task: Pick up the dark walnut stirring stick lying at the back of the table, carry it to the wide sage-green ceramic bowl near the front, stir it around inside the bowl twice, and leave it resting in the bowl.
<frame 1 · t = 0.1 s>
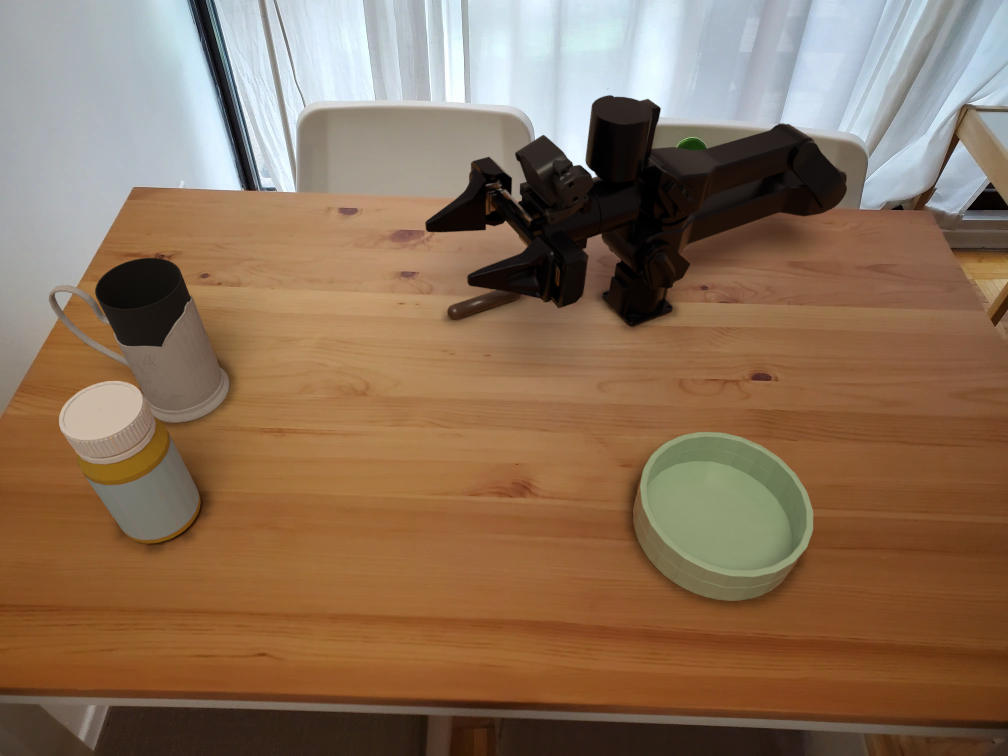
hand: (446, 252, 68), 17 cm above the table, tool horizontal, fingers open, 9 cm apart
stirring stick: (484, 307, 88), on the table
bottle: (164, 514, 67), on the table
glass holder: (163, 390, 78), on the table
bowl: (713, 524, 68), on the table
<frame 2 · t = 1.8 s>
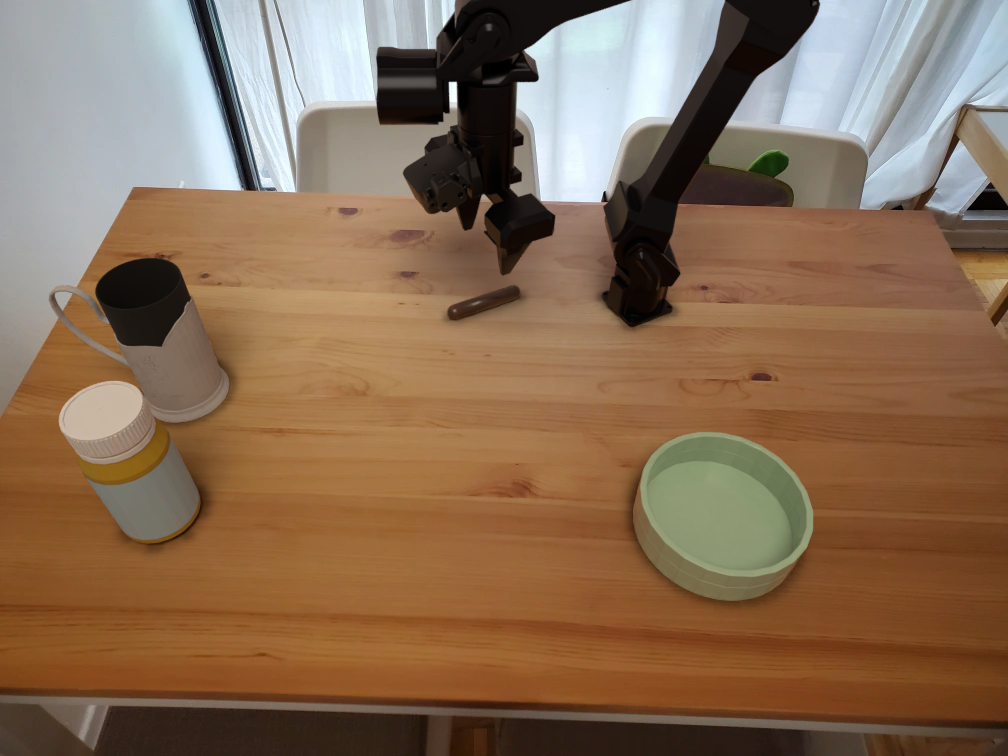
hand: (485, 251, 81), 9 cm above the table, tool pointing down, fingers open, 9 cm apart
nothing on the table moved.
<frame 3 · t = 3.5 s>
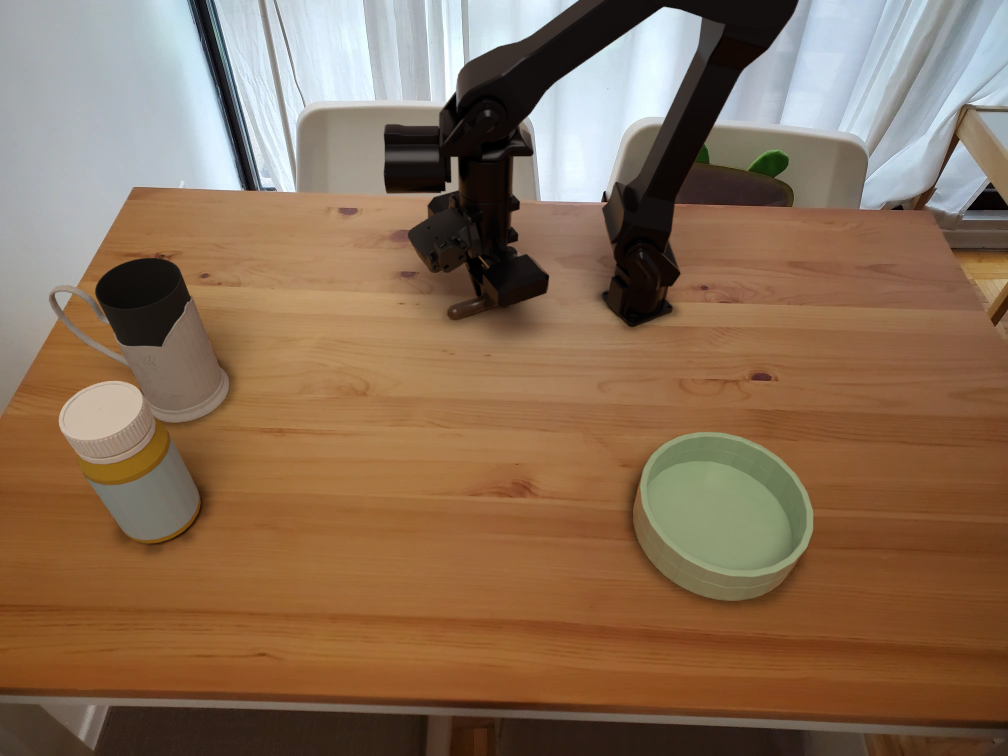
hand: (484, 301, 87), 1 cm above the table, tool pointing down, fingers closed on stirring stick, 2 cm apart
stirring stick: (484, 307, 88), on the table, touching gripper
everything else where it was.
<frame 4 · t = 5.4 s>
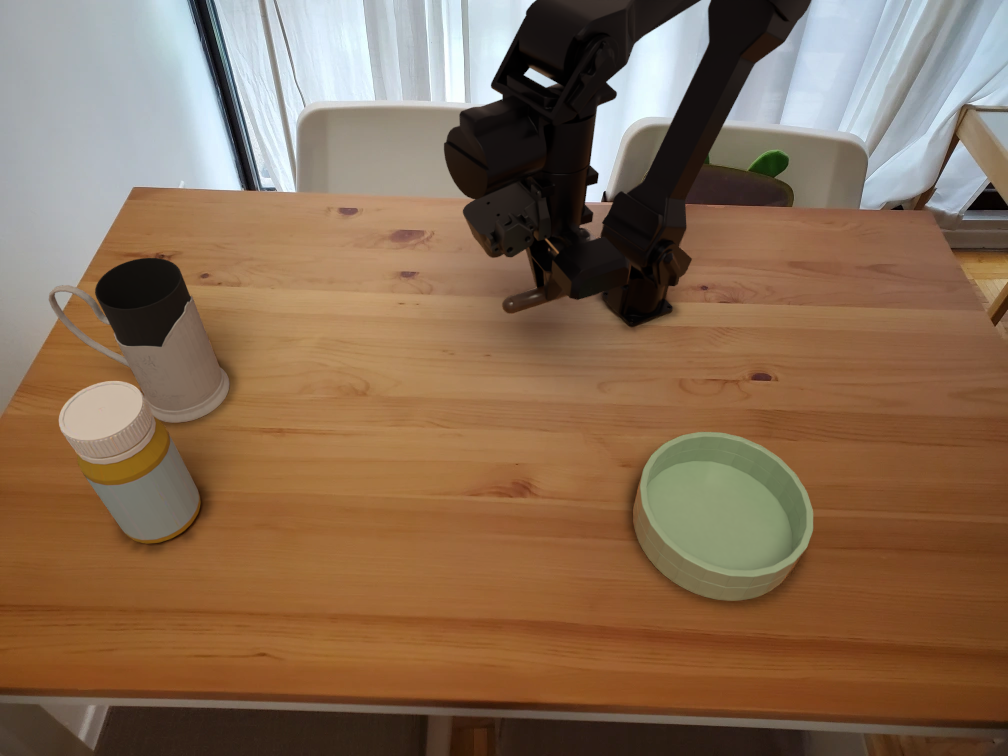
hand: (545, 293, 74), 10 cm above the table, tool pointing down, fingers closed on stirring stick
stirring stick: (544, 300, 75), point 9 cm above the table, touching gripper
everything else where it was.
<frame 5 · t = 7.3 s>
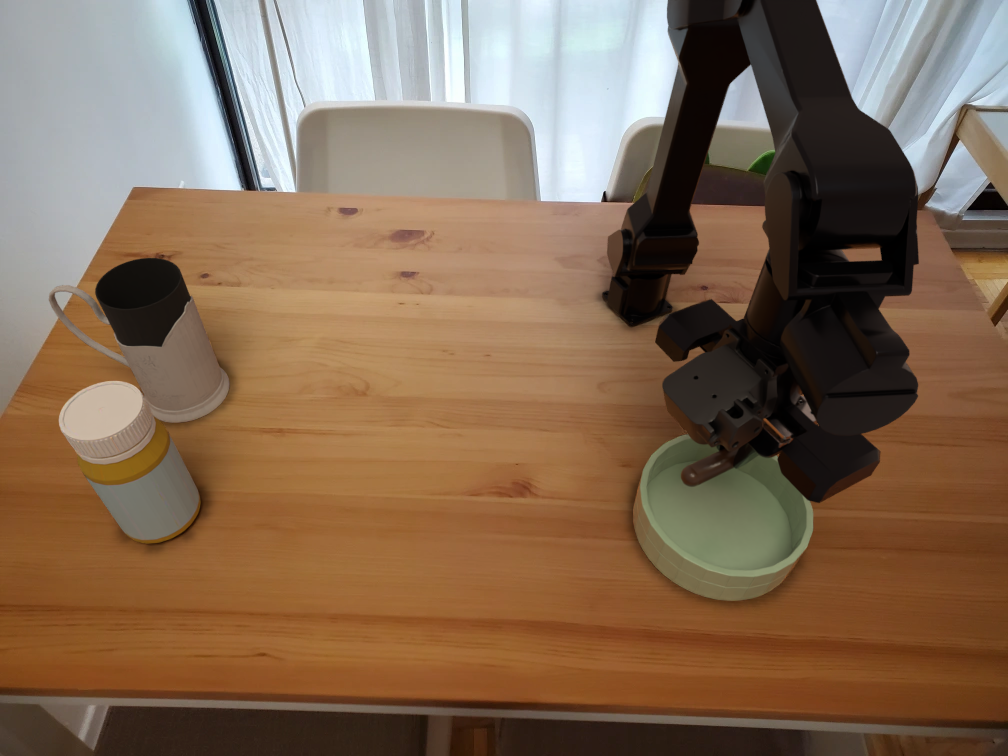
hand: (730, 457, 61), 10 cm above the table, tool pointing down, fingers closed on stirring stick
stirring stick: (726, 464, 62), point 9 cm above the table, touching gripper
everything else where it was.
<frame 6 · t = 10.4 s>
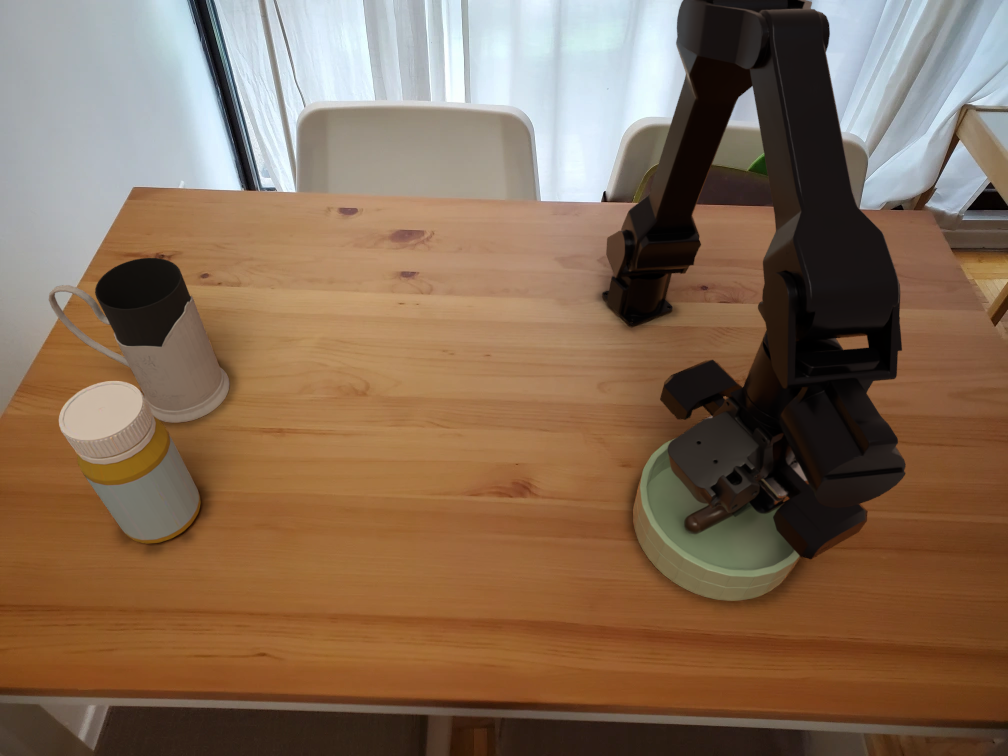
hand: (729, 505, 66), 3 cm above the table, tool pointing down, fingers closed on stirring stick, 2 cm apart
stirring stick: (725, 511, 67), point 2 cm above the table, touching gripper
everything else where it was.
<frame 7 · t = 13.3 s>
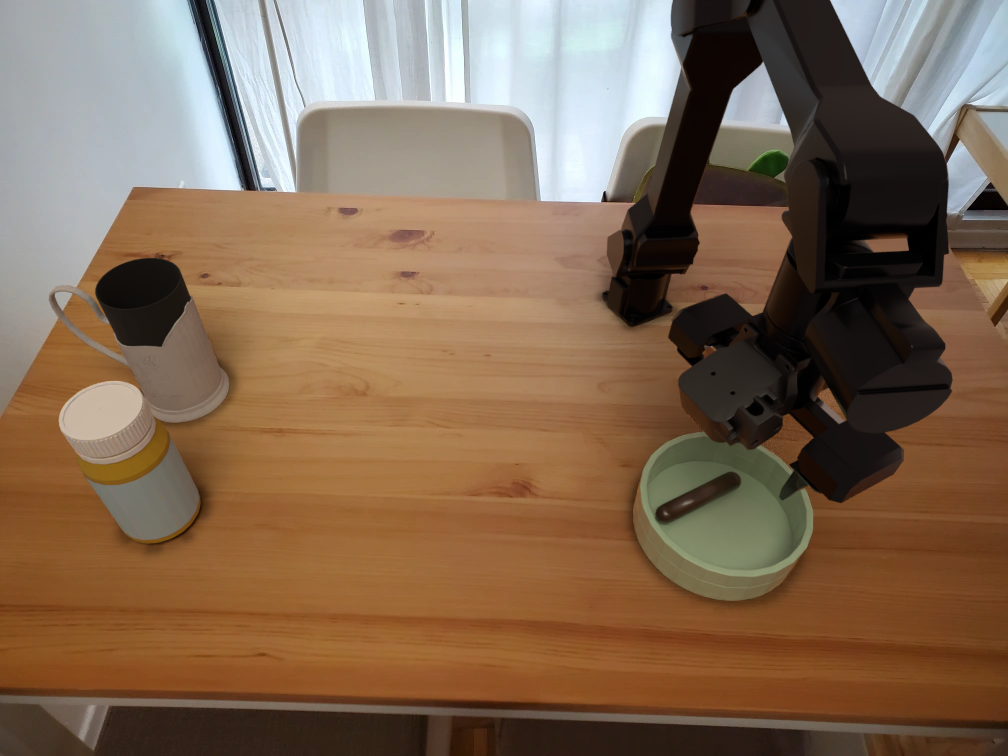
hand: (745, 455, 60), 11 cm above the table, tool pointing down, fingers open, 9 cm apart
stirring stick: (703, 495, 67), point 2 cm above the table, tilted 157°, touching bowl
everything else where it was.
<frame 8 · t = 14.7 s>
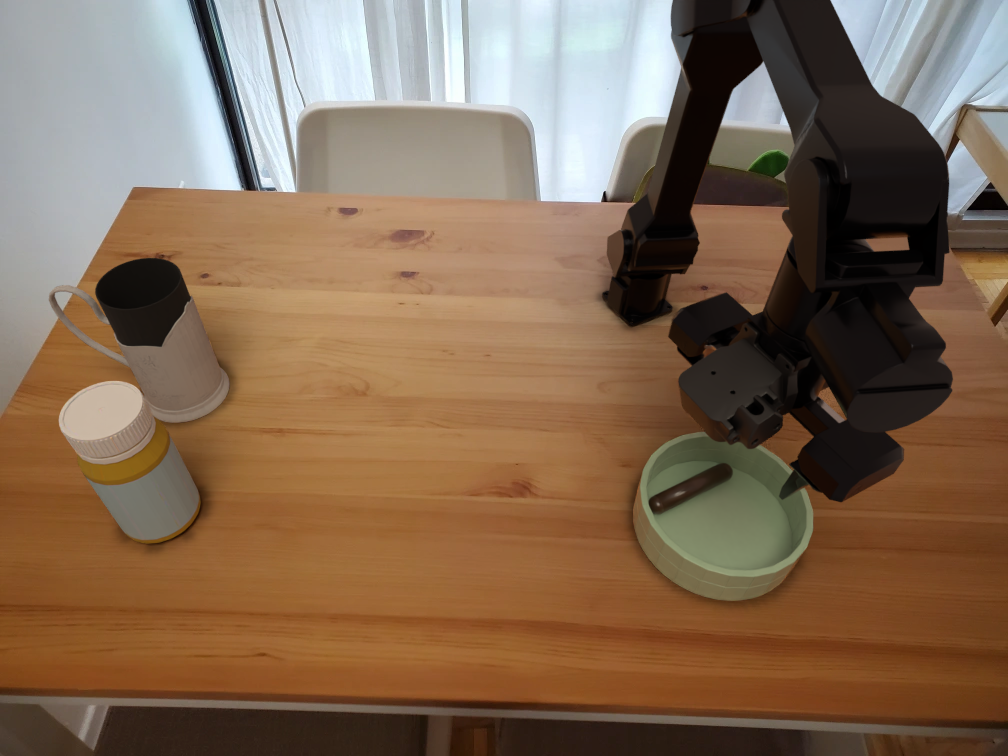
hand: (745, 454, 60), 11 cm above the table, tool pointing down, fingers open, 9 cm apart
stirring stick: (687, 479, 69), point 2 cm above the table, tilted 129°, touching bowl
everything else where it was.
at the end: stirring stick inside the target area in the bowl (4.4 cm from its centre), point 2.0 cm above the bowl's base; the gripper is holding nothing; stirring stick moved 33.0 cm from its start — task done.
